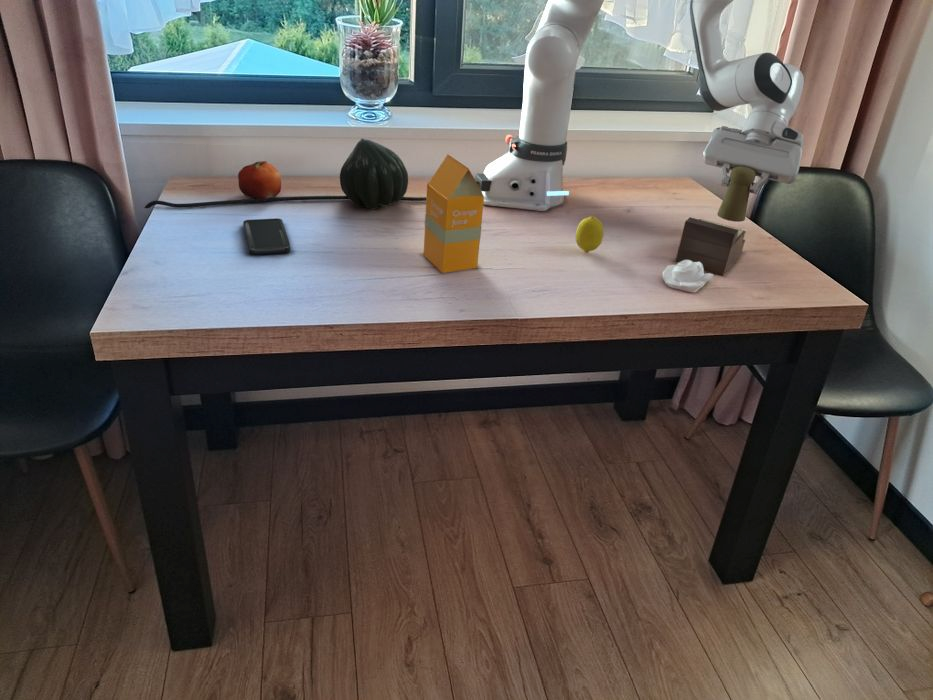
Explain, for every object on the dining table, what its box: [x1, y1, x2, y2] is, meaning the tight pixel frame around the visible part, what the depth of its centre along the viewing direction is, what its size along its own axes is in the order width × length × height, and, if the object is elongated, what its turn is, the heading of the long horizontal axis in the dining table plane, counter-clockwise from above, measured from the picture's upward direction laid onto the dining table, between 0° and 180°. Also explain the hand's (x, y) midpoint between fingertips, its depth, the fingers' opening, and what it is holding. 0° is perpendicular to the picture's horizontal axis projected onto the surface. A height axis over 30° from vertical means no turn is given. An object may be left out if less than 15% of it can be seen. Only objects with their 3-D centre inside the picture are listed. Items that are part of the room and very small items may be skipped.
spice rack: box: [675, 216, 746, 276], centre depth 155 cm, size 15×10×9 cm, turn 148°
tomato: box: [237, 160, 282, 199], centre depth 164 cm, size 9×9×8 cm
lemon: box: [575, 215, 604, 254], centre depth 152 cm, size 6×6×8 cm
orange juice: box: [423, 153, 485, 274], centre depth 140 cm, size 8×9×20 cm
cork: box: [716, 166, 756, 223], centre depth 161 cm, size 6×6×11 cm
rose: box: [662, 260, 714, 293], centre depth 144 cm, size 10×4×10 cm
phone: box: [242, 218, 291, 256], centre depth 147 cm, size 8×1×15 cm
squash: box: [339, 138, 409, 210], centre depth 166 cm, size 14×15×15 cm
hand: (738, 188), depth 160 cm, fingers closed on cork, 5 cm apart
